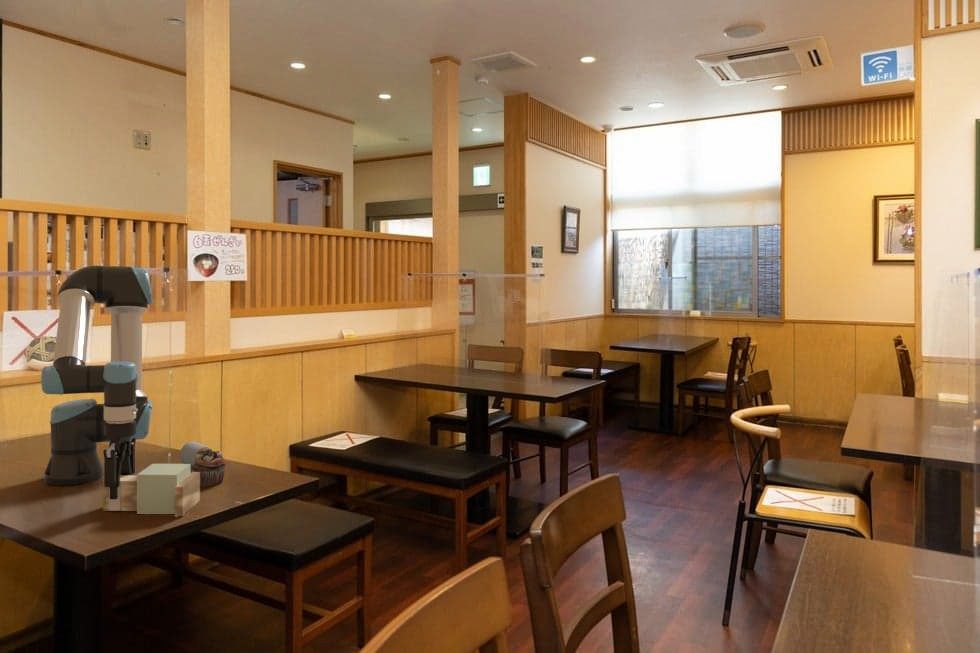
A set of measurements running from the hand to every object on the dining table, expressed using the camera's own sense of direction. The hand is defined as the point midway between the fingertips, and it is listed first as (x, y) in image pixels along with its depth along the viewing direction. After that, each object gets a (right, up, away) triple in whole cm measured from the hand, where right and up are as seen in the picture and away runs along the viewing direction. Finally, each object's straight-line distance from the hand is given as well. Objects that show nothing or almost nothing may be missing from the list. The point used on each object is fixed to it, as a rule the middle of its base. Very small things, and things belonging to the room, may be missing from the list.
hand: (120, 506), depth 177 cm
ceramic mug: (+4, +2, +40) cm, 41 cm away
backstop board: (+17, -1, +2) cm, 17 cm away
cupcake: (+14, +1, +23) cm, 27 cm away
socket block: (+11, -1, +1) cm, 11 cm away
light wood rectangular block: (+5, 0, 0) cm, 5 cm away
